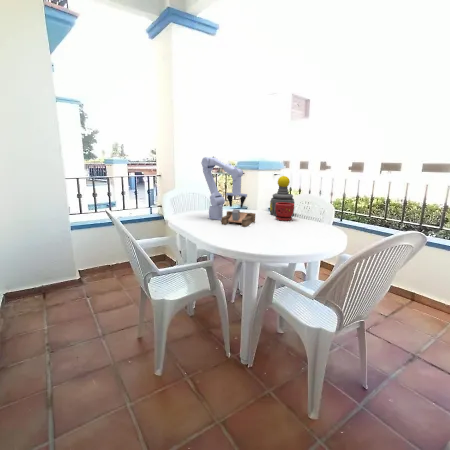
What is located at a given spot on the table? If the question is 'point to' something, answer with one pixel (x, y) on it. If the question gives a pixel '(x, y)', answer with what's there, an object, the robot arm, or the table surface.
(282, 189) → the decorative lamp
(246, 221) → the frame
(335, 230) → the table surface
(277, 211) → the plant pot
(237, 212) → the stone
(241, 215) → the trapdoor
